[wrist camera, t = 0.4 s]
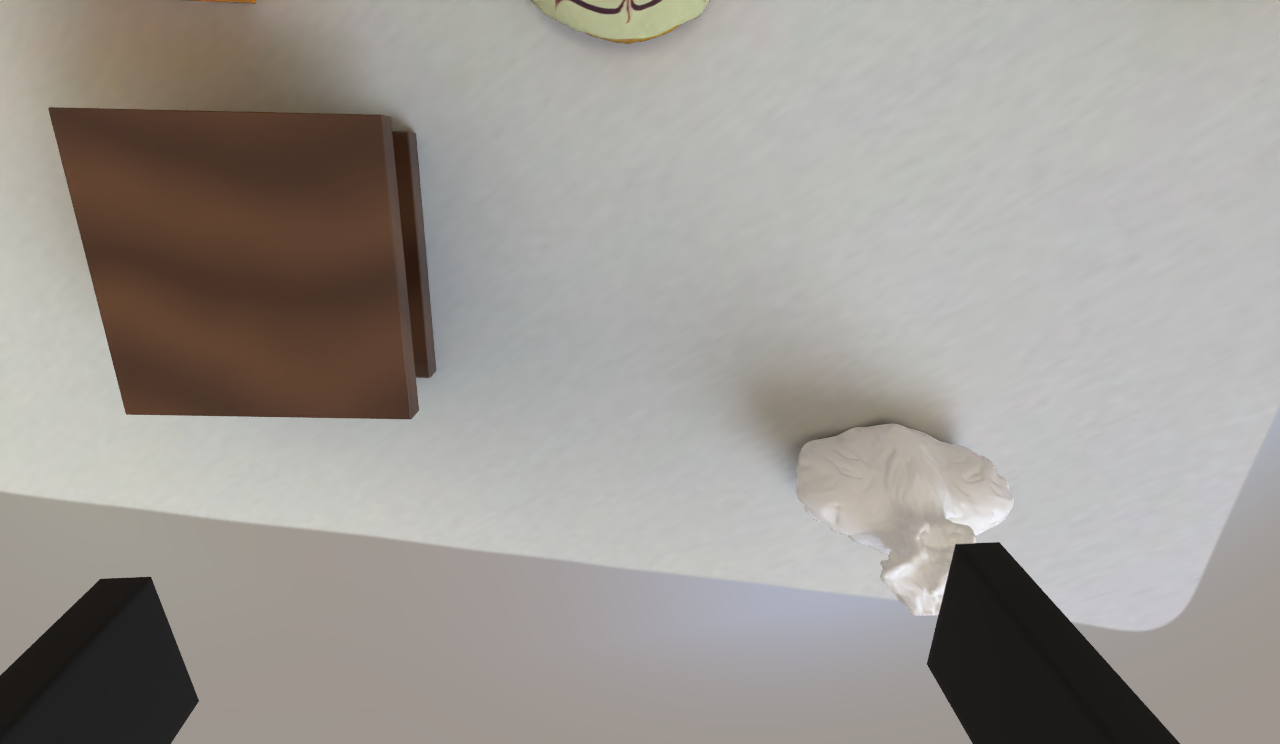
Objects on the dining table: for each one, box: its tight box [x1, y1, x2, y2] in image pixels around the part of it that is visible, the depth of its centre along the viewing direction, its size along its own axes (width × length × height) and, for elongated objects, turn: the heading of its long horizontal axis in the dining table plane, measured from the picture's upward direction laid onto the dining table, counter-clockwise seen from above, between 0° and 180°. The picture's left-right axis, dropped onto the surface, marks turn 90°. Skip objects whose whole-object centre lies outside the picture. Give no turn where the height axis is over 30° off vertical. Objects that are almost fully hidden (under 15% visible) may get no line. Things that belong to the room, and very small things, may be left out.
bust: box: [797, 423, 1014, 616], centre depth 35 cm, size 12×8×11 cm
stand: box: [49, 107, 436, 419], centre depth 32 cm, size 14×14×6 cm
